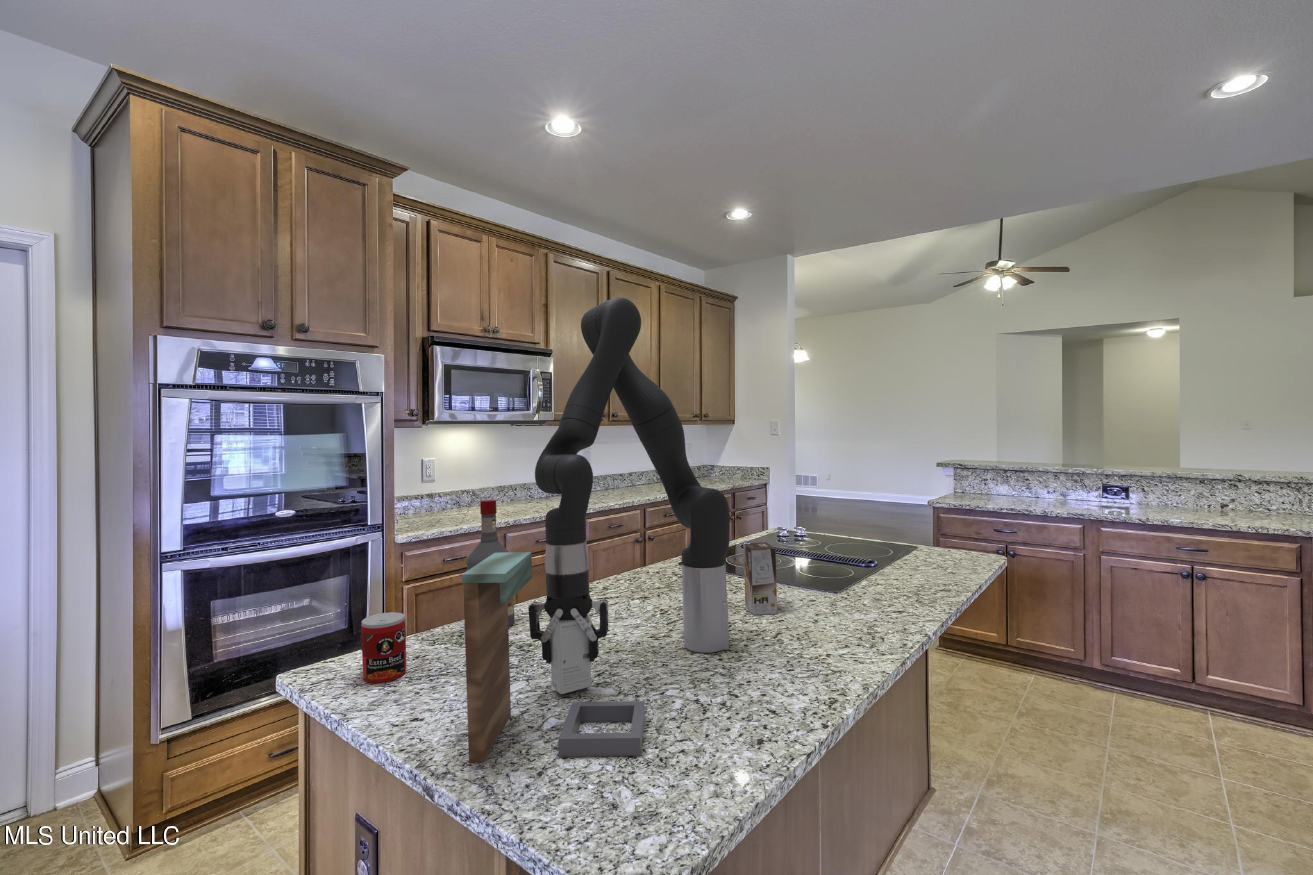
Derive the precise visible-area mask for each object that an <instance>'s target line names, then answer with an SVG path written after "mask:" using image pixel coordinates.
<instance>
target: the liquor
mask: <svg viewBox="0 0 1313 875" xmlns="http://www.w3.org/2000/svg"><path fill="white" fill-rule="evenodd" d="M479 504H480V507H479V508H480V510H479V511H480V512H479V513H480V515H481V517H480V518H481V519H480V521H481V522H480V523H481V536H480V540H479V541H480V542H478V544H477V546H475V548H474V549H473V550H472V551H471V553H470V554H469V555H468V558H467V561H466V571H468V570H469V569H471V568H472V567H474V566H475V565H477V564H479V563H480V562H482V561H483V560H485V559H486V558H488V557H489V556H491V555H492V554H494V553H505V552H509V550H508V549H507V548H506V547H505V546H503V544H502V543H501V542H500V541H499V537H498V534H497V533H498V532H497V513H498V512H497V500H496V499H484V500H480V501H479ZM515 619H516V618H515V596H514V597H513V598H512V599H511V600H510V601H509V602H508V627H509V628H510V626H511V627H513V625H514V623H515V621H516V620H515Z"/></svg>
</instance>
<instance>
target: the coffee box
mask: <svg viewBox="0 0 1313 875" xmlns="http://www.w3.org/2000/svg"><path fill="white" fill-rule="evenodd" d="M742 545H743V571H744V598H745V599H744V600H745V603H744V604H745V607H746V608H747V609H748V611H750V613H751V614H752V615H753V616H755V615H758V616H759V615H775V614H776V615H777V613H778V595H777V594H778V593H777V592H778V591H777V587H778V586H777V585H778V584H777V558H776V557H777V556H776V555H777V554H776V552H777V550H776V548H775V547H774V546H772V545H771V544H769V543H768V542H765V541H764V542H748V543H745V542H744V543H743V544H742Z"/></svg>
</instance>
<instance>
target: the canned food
mask: <svg viewBox="0 0 1313 875" xmlns="http://www.w3.org/2000/svg"><path fill="white" fill-rule="evenodd" d="M405 617H406V616H405V614H404V613H402V612H393V611H391V612H382V613H377V614H373V615H370V616H367V617H365V618H364V619H362V620H361V624H360V626H361V629H360V630H361V632H360V633H361V653H362V654H361V656H362V657H361V658H362V661H361V662H362V676H363V679H364V681H365V682H366V683H370V684H383V683H384V684H385V683H389V682H392V681H396V680H397V679H399V678H401V677H403V676H404V675H405V673H406V670H407V666H408V665H407V640H406V639H407V638H406V637H407V635H406V634H407V632H406V628H407V627H406V618H405Z"/></svg>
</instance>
